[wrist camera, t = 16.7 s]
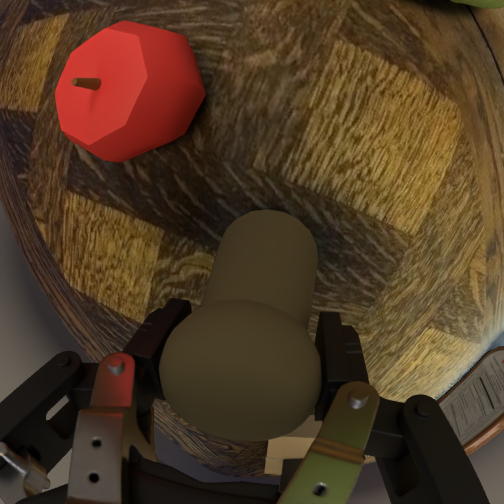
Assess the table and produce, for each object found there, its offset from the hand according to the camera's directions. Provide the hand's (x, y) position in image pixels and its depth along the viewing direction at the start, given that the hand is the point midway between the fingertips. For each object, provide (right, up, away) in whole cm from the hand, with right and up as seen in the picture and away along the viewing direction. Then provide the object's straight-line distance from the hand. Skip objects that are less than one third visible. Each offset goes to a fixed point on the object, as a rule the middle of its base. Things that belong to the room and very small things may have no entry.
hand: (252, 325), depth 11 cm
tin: (+23, -11, +10) cm, 27 cm away
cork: (+1, +3, +6) cm, 7 cm away
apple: (-6, +13, +4) cm, 15 cm away
